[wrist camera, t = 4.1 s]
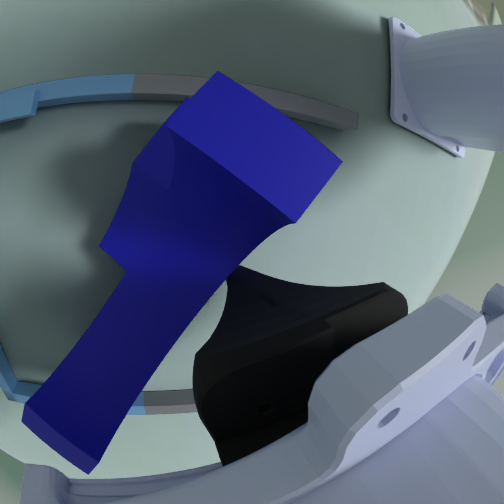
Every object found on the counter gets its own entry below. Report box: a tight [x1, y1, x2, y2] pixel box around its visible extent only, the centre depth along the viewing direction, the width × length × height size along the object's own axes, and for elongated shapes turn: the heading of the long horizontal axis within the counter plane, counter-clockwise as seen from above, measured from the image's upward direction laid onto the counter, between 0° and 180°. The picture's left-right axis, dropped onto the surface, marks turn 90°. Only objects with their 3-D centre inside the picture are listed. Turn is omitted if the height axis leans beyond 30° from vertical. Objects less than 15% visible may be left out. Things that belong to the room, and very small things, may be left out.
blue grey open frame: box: [0, 74, 358, 415], centre depth 10 cm, size 20×17×2 cm
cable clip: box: [22, 71, 343, 475], centre depth 8 cm, size 12×4×6 cm, turn 140°
